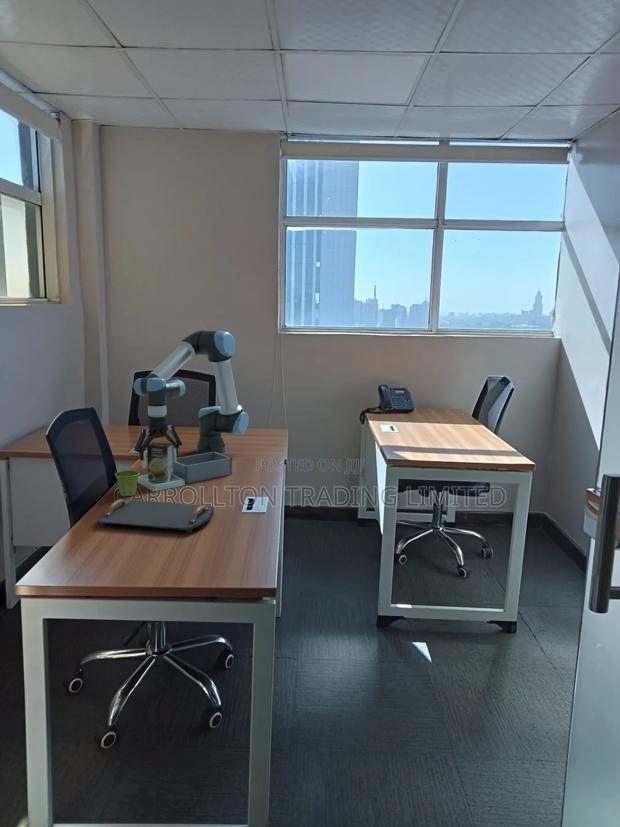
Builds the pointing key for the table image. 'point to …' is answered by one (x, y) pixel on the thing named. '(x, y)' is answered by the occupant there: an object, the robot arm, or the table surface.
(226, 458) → the grey storage bin
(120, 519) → the serving board
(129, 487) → the plant pot
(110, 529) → the table surface
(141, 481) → the tray
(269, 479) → the table surface
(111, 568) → the table surface
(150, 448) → the coffee box
